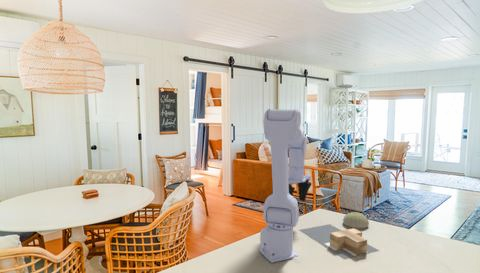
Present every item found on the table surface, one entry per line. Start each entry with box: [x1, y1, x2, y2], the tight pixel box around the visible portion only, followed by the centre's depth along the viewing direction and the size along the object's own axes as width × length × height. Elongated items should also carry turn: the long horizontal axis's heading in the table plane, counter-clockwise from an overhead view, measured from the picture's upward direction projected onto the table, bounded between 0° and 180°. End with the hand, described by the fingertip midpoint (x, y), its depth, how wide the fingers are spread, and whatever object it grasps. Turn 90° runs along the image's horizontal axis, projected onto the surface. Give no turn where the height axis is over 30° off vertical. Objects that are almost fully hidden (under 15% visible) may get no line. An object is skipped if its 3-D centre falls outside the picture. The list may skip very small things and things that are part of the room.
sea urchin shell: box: [342, 211, 370, 230], centre depth 114 cm, size 9×8×8 cm
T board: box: [299, 224, 380, 260], centre depth 101 cm, size 14×23×1 cm, turn 24°
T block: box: [330, 228, 368, 255], centre depth 95 cm, size 10×8×4 cm
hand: (295, 202), depth 112 cm, fingers open, 7 cm apart
